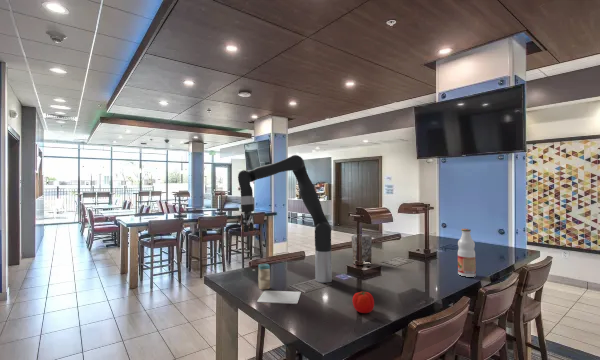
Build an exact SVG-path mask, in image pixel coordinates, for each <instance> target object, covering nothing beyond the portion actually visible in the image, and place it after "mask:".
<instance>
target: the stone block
mask: <svg viewBox="0 0 600 360" xmlns="http://www.w3.org/2000/svg"><path fill="white" fill-rule="evenodd" d="M357 235H358V234H356V235H355V234H354V235H352V236H351V249H352V250H351V251H352V253H351V256H352V257H351V258H352V259H351V260H352V264H353V263H355V261H356V260H357ZM361 235H362V261H365V262H370V263H371V264H372V248H373V247H372V243H373V242H372V239H373V238H372V236H371V235H369V234H361Z"/></svg>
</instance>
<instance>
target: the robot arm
mask: <svg viewBox="0 0 600 360" xmlns="http://www.w3.org/2000/svg"><path fill="white" fill-rule="evenodd" d="M288 171H292V173H293V175H294V177H295V179H296V182H297V186H298V190H299V191H298V192H299V194H300V197H301V199H302V203H303V204H304V206H305V208H306V209H307V211H308V213H309V214H310V216H311V218H312V222H313V223H314V227H315V228H314V247H315V249H314V250H315V251H314V252H315V253H314V254H315V257H314V258H315V260H314V261H315V266H314V267H315V270H314V271H315V272H314V273H315V274H314V275H315V277H314V278H315V282H317V283H323V284H324V283H326V284H327V283H332V279H333V278H332V277H333V276H332V275H333V273H332V272H333V271H332V270H333V269H332V267H333V266H332V227H331V224H330V223H329V221H328V219H327V217H326V216H325V213H324V211H323V208H322V203H321V201H320V197H319V196H318V193H317V190H316V187H315V186H314V184H313V182H312V180H311V179H310V177H309V174H308V171H307V167H306V164H305V161H304V159H303V157H301V156H300V155H297V154H294V155H291V156H289V157H287V158H284V159H282V160H279V161H277V162H274V163H270V164H265V165H261V166H257V167H255V168H254V169H251V170H245V169H243V170H240V171H239V172H238V174H237V181H238V185H239V188H240V189H239V190H240V210H241V213H242V214H241V224H242V225H243V229H244V233H248V232H253V231H254V223H255V213H253V212H255V205H254V201H255V200H254V194H253V188H252V186H251V182H255V181H257V180H261V179H265V178H267V177H271V176H274V175H277V174H279V173H283V172H288Z"/></svg>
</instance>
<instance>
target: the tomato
mask: <svg viewBox="0 0 600 360" xmlns="http://www.w3.org/2000/svg"><path fill="white" fill-rule="evenodd" d="M352 305H353V308H354V309H355V311H356V312H359V313H360V314H368V313H371V312H372V311H373V309H374V307H375V299H374V296H373V295H372V293H370V292H367V291H366V290H364V291H360V292H355V293H354V294H353V296H352Z"/></svg>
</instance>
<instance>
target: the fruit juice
mask: <svg viewBox="0 0 600 360" xmlns="http://www.w3.org/2000/svg"><path fill="white" fill-rule="evenodd" d="M471 232H472V230H471V229H470V228H461V236H460V238H459V239H458V241H457V247H458V248H457V249H458V250H457V275H458V274H459V275H461V276H466V277H474V276H475V277H476V275H477V273H476V272H477V271H476V269H477V268H476V266H477V263H476V251H475V247H476V244H475V240H474V239H473V238H472V236H471ZM459 275H458V276H459ZM461 276H460V277H461ZM475 277H474V278H475Z"/></svg>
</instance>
